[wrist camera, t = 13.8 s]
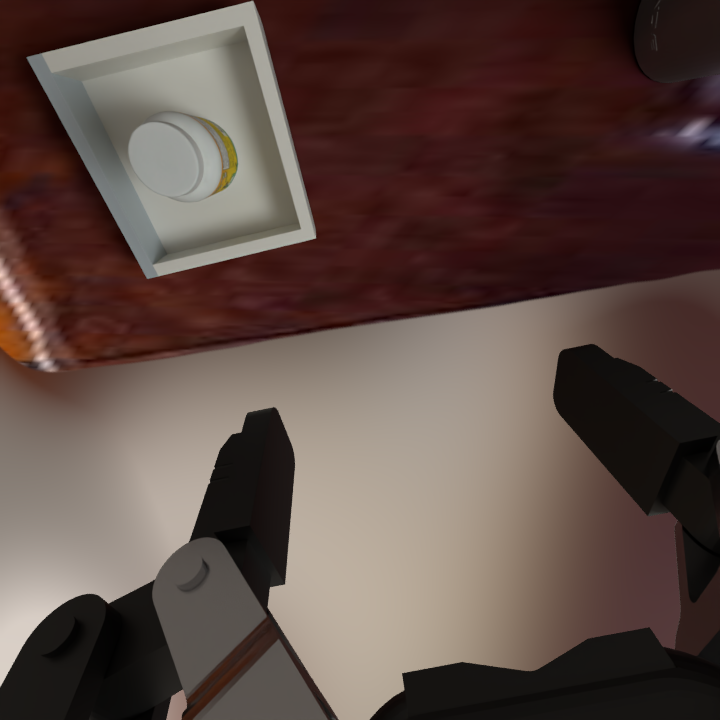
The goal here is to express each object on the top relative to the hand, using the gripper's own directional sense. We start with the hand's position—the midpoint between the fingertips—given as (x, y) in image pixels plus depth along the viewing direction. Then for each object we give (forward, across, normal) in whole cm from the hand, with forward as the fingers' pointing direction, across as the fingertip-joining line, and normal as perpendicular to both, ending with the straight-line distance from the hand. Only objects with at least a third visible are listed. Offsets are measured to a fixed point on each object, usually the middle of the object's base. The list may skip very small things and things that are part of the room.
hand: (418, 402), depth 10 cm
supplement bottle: (+27, +11, -7) cm, 30 cm away
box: (+28, +11, -7) cm, 31 cm away
